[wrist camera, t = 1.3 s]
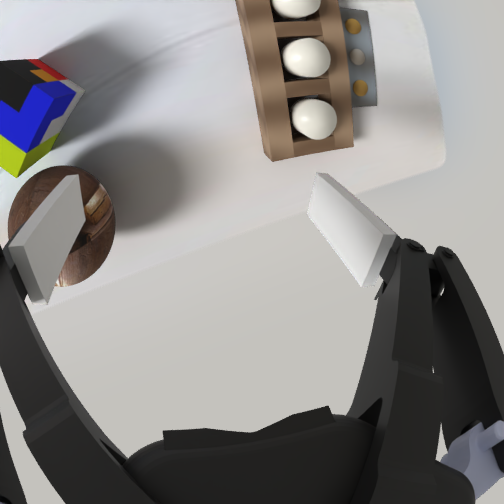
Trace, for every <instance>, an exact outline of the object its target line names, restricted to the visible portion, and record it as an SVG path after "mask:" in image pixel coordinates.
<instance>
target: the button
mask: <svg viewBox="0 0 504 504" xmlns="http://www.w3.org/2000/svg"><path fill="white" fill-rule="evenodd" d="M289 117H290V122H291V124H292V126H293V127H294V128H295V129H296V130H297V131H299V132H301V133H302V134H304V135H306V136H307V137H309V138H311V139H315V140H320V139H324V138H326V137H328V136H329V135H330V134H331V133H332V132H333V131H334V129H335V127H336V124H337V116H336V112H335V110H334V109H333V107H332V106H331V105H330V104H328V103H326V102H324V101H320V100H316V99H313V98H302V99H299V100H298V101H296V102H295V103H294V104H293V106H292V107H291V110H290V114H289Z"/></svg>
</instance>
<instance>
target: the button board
mask: <svg viewBox="0 0 504 504" xmlns="http://www.w3.org/2000/svg"><path fill="white" fill-rule="evenodd" d="M235 1H236V6H237V10H238V15H239V20H240V25H241V29H242V34H243V39H244V44H245V49H246V54H247V59H248V65H249V70H250V75H251V80H252V86H253V91H254V97H255V102H256V108H257V113H258V119H259V125H260V131H261V136H262V142H263V148H264V153H265V154H266V156H267V157H268V158H269V159H270V160H271V161H272V162H274V161H279V160H284V159H288V158H293V157H298V156H303V155H308V154H314V153H319V152H325V151H331V150H336V149H343V148H349V147H354V144H353V120H352V107H363V106H377V98H376V82H375V69H374V59H373V50H372V42H371V35H370V28H369V21H368V15H367V11H364V10H356V9H347V8H339V4H338V0H321V3H320V7H319V8H318V10H317V11H316V12H314V13H312V14H310V15H307V16H306V18H307V21H295V22H275V23H274V21H273V16H272V11H271V6H270V2H269V0H235ZM293 38H313V39H316V40H319V41H320V42H322V43H323V44H324V45H325V46H326V47H327V49H328V51H329V53H330V58H331V61H330V66H329V68H328V69H327V71H326V72H325V73H324V74H322V75H320V76H318V77H311V78H300V79H290V80H284V77H283V71H282V65H281V59H280V53H279V47H278V42H277V40H278V39H293ZM317 94H318V100H320V101H324V102H326V103H328V104H330V105H331V106H332V107H333V109H334V110H335V112H336V116H337V124H336V127H335V129H334V131H333V132H332V133H331V134H330V135H329V136H328V137H326V138H324V139H320V140H315V139H311V138H309V137H307V136H306V135H304V134H302V133H296V134H292V133H291V125H290V118H289V110H288V103H287V98H291V97H299V96H307V95H317Z"/></svg>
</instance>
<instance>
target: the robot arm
mask: <svg viewBox="0 0 504 504" xmlns="http://www.w3.org/2000/svg"><path fill="white" fill-rule="evenodd" d="M307 215H308V217H309V218H310V219H311V220H312V222H313V223H314V224H315V226H316V227H317V228H318V229H319V231H320V232H321V233H322V235H323V236H324V237H325V239H326V240H327V241H328V242H329V244H330V245H331V246H332V248H333V249H334V250H335V252H336V253H337V254H338V256H339V257H340V258H341V260H342V261H343V263H344V264H345V265H346V267H347V268H348V269H349V271H350V272H351V273H352V275H353V276H354V278H355V279H356V281H357V282H358V283H359V285H360V286H361V287H368V286H374V285H375V283H376V281H377V279H378V277H379V275H380V276H381V277H382V279H383V283H382V285H381V287H380V289H379V291H378V293H377V295H376V297H375V300H377V298H378V297H379V298H378V303H377V309H376V314H375V319H374V323H373V329H372V333H371V337H370V342H369V346H368V350H367V354H366V358H365V362H364V366H363V370H362V373H361V377H360V380H359V383H358V387H357V390H356V394H355V397H354V400H353V403H352V406H351V408H350V410H349V412H348V413H347V415H346V416H345V415H335V414H332V413H331V410H330V408H329V406H325V407H321V408H317V409H314V410H310V411H306V412H302V413H297V414H293V415H291V416H289V417H286V418H285V419H282V420H280V421H278V422H276V423H274V424H272V425H270V426H267V427H265V428H263V429H261V430H258V431H256V432H251V433H248V432H247V433H246V432H234V431H225V430H216V429H208V428H203V429H189V430H167V431H163V437H164V440H160V441H157V442H154V443H152V444H149V445H147V446H145V447H143V448H141V449H140V450H138V451H137V452H136V453H134V454H133V455H131V456H130V457H129V458H127V457H126V456H125V455H124V454H123V453H122V452H121V451H120V450H119V449H118V448H117V447H116V446H115V445H114V444H113V443H112V442H111V441H110V440H109V438H108V437H107V436H106V435H105V434H104V432H103V431H102V430H101V429H100V427H99V426H98V425H97V424H96V423H95V421H94V420H93V419H92V418H91V416H90V415H89V413H88V412H87V410H86V409H85V408H84V407H83V405H82V404H81V402H80V401H79V399H78V398H77V397H76V395H75V394H74V392H73V390H72V389H71V387H70V386H69V384H68V383H67V381H66V380H65V378H64V377H63V375H62V373H61V371H60V370H59V368H58V367H57V365H56V363H55V361H54V360H53V358H52V356H51V354H50V353H49V351H48V349H47V347H46V345H45V343H44V341H43V339H42V337H41V335H40V333H39V331H38V329H37V327H36V325H35V323H34V321H33V319H32V316H31V314H30V312H29V310H28V307H27V305H26V303H25V301H24V300H25V298H26V295H27V294H28V296H29V298H30V300H31V302H32V304H33V305H47V304H48V302H49V299H50V296H51V294H52V291H53V289H54V286H55V284H56V281H57V279H58V277H59V274H60V272H61V270H62V267H63V265H64V263H65V261H66V258H67V256H68V254H69V252H70V250H71V248H72V246H73V244H74V242H75V240H76V238H77V236H78V234H79V232H80V230H81V228H82V226H83V224H84V222H85V220H86V219H85V214H84V208H83V202H82V196H81V190H80V182H79V175H78V174H77V175H68V176H66V177H65V178H64V179H63V180H62V181H61V182H60V183H59V184H58V185H57V186H56V187H55V188H54V189H53V191H52V192H51V193H50V194H49V195H48V196H47V197H46V199H45V200H44V201H43V202H42V203H41V204H40V206H39V207H38V208H37V209H36V210H35V212H34V213H33V214H32V215H31V217H30V218H29V219H28V220H27V221H25V222H24V223H23V224H22V225H20V226H19V228H18V229H17V230H16V232H15V234H13V236H12V237H11V239H10V240H9V241H8V242H7V244H6V245H5V247H4V248H3V250H2V248H1V246H0V367H1V369H2V372H3V375H4V377H5V380H6V383H7V385H8V388H9V390H10V393H11V395H12V397H13V400H14V402H15V404H16V406H17V409H18V411H19V413H20V415H21V417H22V419H23V421H24V423H25V426H26V430H25V431H23V437H24V439H25V441H26V444H27V446H28V447H29V449H30V451H31V453H32V454H33V456H34V458H35V459H36V461H37V463H38V465H39V466H40V468H41V469H42V471H43V472H44V474H45V476H46V477H47V479H48V480H49V482H50V483H51V484H52V486H53V487H54V489H55V490H56V491H57V493H58V494H59V495H60V497H61V498H62V499H63V501H64V502H65V503H66V504H475V500H476V499H477V498H479V497H480V496H481V495H482V494H484V493H485V492H486V491H487V490H488V489H489V488H490V487H491V486H493V485H494V484H495V483H496V482H497V481H498V480H499V479H500V478H502V477H504V354H503V351H502V348H501V346H500V343H499V341H498V338H497V336H496V333H495V331H494V328H493V326H492V324H491V321H490V319H489V317H488V314H487V312H486V310H485V308H484V306H483V304H482V301H481V299H480V297H479V295H478V293H477V291H476V289H475V287H474V286H473V284H472V282H471V280H470V278H469V276H468V274H467V273H466V271H465V269H464V267H463V265H462V264H461V262H460V260H459V258H458V257H457V256H456V254H455V253H453V251H452V250H451V249H449V248H445V247H442V246H438V247H437V249H436V251H435V253H434V255H433V254H428V253H427V252H426V250H425V248H424V247H423V246H422V245H420V244H419V243H418V242H416V241H414V240H411V239H406V238H405V239H401V238H400V237H399V236H398V235H397V234H396V233H395V232H394V231H393V230H392V229H391V228H389V227H388V225H386V223H384V222H383V221H382V220H381V219H380V218H379V217H378V216H376V215H375V214H374V213H373V212H372V211H371V210H370V209H369V208H368V207H367V206H365V205H364V204H363V203H362V202H361V201H360V200H359V199H357V198H356V197H355V196H354V195H353V194H352V193H350V192H349V191H348V190H347V189H346V188H345V187H343V186H342V185H341V184H340V183H339V182H337V181H336V180H335V179H334V178H332V177H331V176H330V175H329V174H325V173H316V176H315V181H314V186H313V190H312V195H311V199H310V204H309V208H308V212H307ZM443 288H444V292H443V294H442V296H441V295H440V293H441V292H442V290H443ZM433 369H434V373H433V371H432V370H433ZM441 423H442V430H443V435H444V440H445V445H446V448H447V451H448V454H445V455H444V456H443V457H442V459H441V462H439V461H437V460H435V459H436V454H437V447H438V441H439V433H440V425H441ZM0 504H27V502H26V498H25V495H24V492H23V489H22V486H21V484H20V481H19V478H18V475H17V472H16V469H15V467H14V463H13V460H12V457H11V454H10V451H9V447H8V444H7V440H6V436H5V432H4V428H3V423H2V419H1V414H0Z"/></svg>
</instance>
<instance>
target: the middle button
mask: <svg viewBox="0 0 504 504" xmlns="http://www.w3.org/2000/svg"><path fill="white" fill-rule="evenodd" d="M280 58H281V63H282V65H283V67H284V68H285V69H286V71H288V72H289V73H291V74H293V75H295V76H304V77H318V76H320V75H322V74H324V73H325V72H326V71H327V69H328V68H329V66H330V61H331V58H330V53H329V51H328V49H327V47H326V46H325V45H324V44H323V43H322V42H320V41H319V40H316V39H313V38H304V39H300V40H295V41H291V42H289V43H287V44H286V45H285V46H284V47H283V49H282V51H281V55H280Z"/></svg>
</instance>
